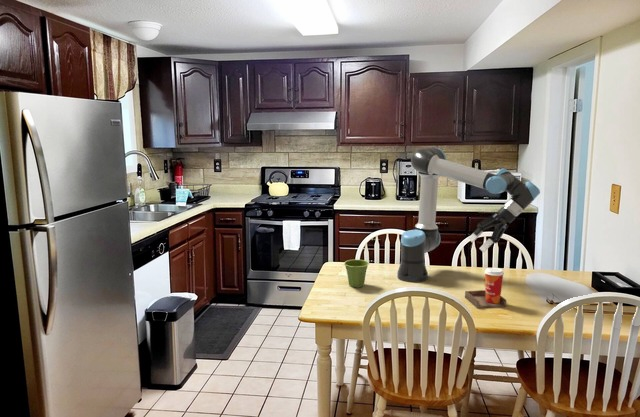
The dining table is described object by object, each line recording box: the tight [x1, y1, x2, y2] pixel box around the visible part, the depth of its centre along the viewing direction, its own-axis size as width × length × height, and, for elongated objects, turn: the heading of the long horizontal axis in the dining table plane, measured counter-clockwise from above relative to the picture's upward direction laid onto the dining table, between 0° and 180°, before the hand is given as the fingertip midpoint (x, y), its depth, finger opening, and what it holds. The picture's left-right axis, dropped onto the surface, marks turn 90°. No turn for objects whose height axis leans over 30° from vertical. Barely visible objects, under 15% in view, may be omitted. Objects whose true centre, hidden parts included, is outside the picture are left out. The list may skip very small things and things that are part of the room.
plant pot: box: [343, 259, 370, 288], centre depth 221 cm, size 12×12×11 cm
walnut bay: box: [464, 289, 507, 309], centre depth 197 cm, size 13×13×3 cm
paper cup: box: [484, 267, 505, 304], centre depth 194 cm, size 8×8×14 cm
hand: (475, 245), depth 210 cm, fingers open, 13 cm apart
